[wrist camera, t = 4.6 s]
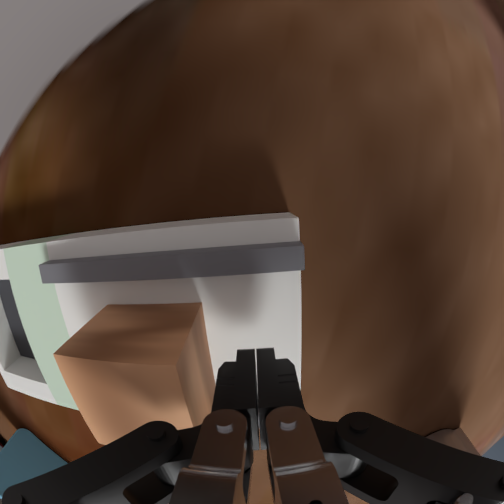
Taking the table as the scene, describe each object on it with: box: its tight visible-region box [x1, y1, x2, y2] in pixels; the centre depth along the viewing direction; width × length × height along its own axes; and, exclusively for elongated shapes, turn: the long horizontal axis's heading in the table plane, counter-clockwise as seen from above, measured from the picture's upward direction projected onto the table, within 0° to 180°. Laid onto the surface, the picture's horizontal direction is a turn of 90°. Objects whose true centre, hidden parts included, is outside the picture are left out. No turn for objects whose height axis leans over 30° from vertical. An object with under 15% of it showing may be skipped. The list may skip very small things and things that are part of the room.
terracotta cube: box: [53, 302, 216, 445], centre depth 11 cm, size 5×5×5 cm
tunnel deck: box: [0, 212, 305, 428], centre depth 14 cm, size 24×12×4 cm, turn 94°
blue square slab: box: [0, 428, 68, 499], centre depth 15 cm, size 12×4×12 cm, turn 43°
